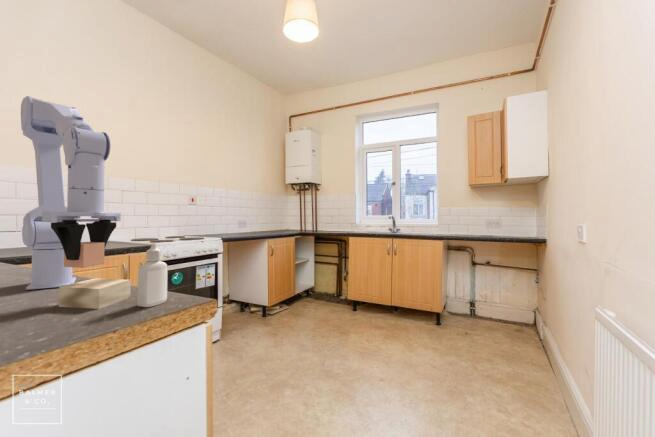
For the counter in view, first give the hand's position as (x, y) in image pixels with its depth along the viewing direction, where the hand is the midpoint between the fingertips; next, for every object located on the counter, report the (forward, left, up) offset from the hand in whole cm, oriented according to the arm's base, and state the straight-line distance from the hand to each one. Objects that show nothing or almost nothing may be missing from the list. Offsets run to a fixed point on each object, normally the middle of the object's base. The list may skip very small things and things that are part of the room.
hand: (85, 258), depth 60 cm
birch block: (+2, +2, -9) cm, 9 cm away
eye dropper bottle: (+9, +11, -9) cm, 17 cm away
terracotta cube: (0, 0, -2) cm, 2 cm away
